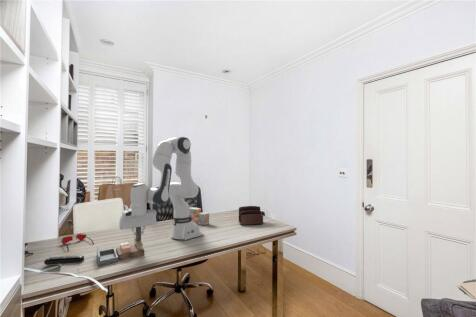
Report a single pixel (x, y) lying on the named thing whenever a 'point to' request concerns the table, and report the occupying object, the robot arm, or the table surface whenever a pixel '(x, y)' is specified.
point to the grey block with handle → (138, 238)
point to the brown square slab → (133, 253)
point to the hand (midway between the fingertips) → (138, 234)
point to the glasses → (67, 239)
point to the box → (106, 256)
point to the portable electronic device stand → (63, 260)
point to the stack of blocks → (199, 216)
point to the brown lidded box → (250, 215)
